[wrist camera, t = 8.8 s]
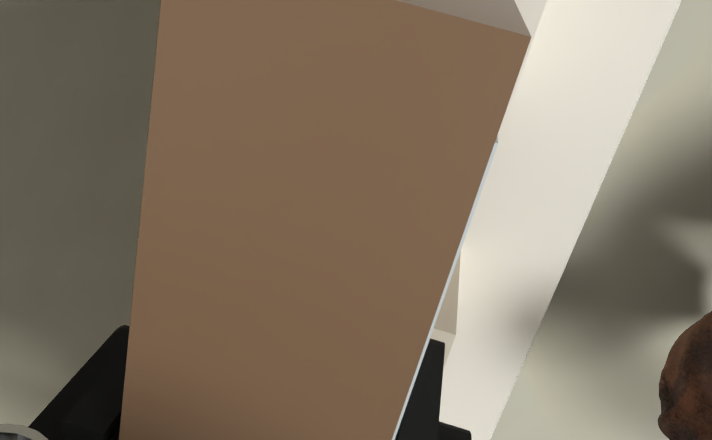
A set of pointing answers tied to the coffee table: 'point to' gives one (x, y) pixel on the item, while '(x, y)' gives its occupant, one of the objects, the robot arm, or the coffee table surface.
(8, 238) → the coffee table surface
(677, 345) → the brown curved ringed piece
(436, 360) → the robot arm
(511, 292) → the stand
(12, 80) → the coffee table surface
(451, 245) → the tall brown box
